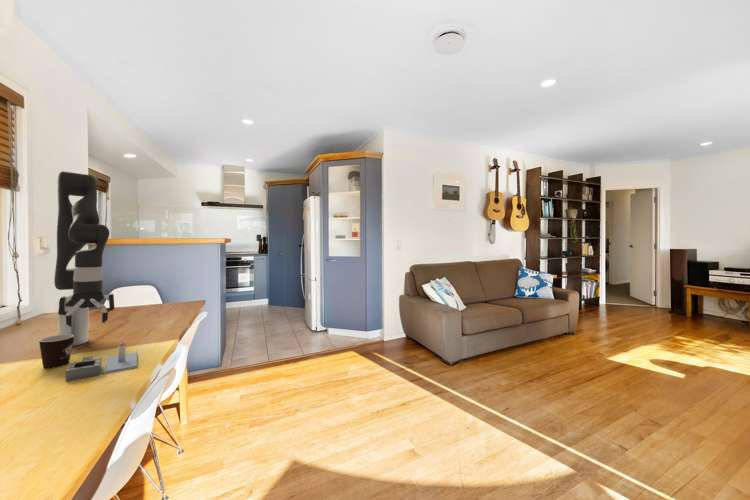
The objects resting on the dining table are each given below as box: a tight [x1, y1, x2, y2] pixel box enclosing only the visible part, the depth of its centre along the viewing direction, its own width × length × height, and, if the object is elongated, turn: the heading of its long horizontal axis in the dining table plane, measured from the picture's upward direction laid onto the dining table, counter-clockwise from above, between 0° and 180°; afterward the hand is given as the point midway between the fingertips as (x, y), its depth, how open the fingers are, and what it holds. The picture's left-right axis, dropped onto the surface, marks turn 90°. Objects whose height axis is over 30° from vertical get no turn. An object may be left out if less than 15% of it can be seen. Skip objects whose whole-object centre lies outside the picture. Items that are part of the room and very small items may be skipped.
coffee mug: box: [38, 334, 74, 370], centre depth 109 cm, size 12×9×10 cm
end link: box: [65, 355, 103, 382], centre depth 103 cm, size 14×8×4 cm, turn 39°
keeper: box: [103, 342, 138, 375], centre depth 111 cm, size 16×9×8 cm, turn 39°
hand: (87, 324), depth 105 cm, fingers open, 8 cm apart
